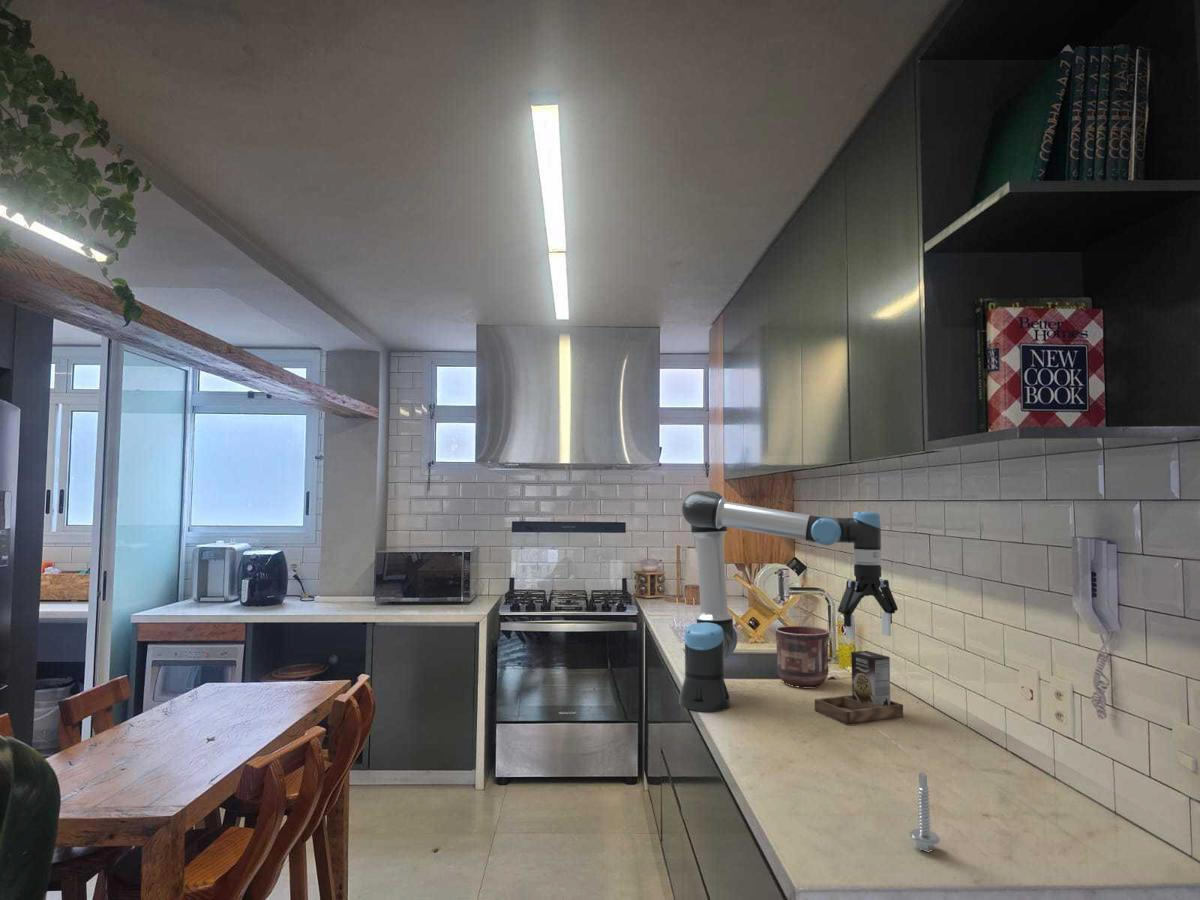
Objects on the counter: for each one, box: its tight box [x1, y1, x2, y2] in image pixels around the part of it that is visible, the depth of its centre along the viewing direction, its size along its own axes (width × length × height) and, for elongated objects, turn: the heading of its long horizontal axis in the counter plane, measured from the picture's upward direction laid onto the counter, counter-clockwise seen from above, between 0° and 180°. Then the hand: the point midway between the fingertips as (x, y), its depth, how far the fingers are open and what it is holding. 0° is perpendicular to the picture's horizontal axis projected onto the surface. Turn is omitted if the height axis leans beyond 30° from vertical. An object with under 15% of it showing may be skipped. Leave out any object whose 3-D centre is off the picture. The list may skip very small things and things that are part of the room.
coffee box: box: [850, 650, 891, 707], centre depth 200 cm, size 9×6×16 cm
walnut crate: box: [814, 694, 904, 726], centre depth 198 cm, size 20×14×4 cm
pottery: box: [775, 625, 830, 688], centre depth 232 cm, size 18×18×18 cm
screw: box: [909, 771, 941, 851], centre depth 120 cm, size 13×5×5 cm
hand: (868, 636), depth 201 cm, fingers open, 13 cm apart
